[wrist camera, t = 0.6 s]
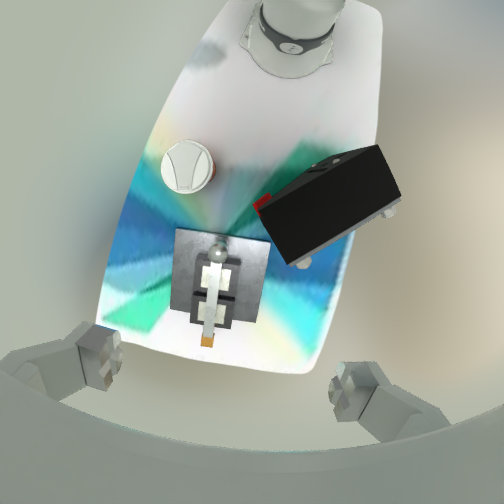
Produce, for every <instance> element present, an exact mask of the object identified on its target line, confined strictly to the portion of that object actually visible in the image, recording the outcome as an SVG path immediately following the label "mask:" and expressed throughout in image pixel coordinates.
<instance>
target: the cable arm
mask: <svg viewBox="0 0 504 504" xmlns="http://www.w3.org/2000/svg"><path fill="white" fill-rule="evenodd" d="M227 255H228V247H227V245H226V244H225V243H223V242H220V241H218V242H214V243H213V244H212V245H211V246H210V248H209V250H208V258H209V260H210V261H211V266H210V274H209V283H208V291H207V300H206V309H205V319H204V329H203V334H202V337H201V346H205V347H211V348H212V347H213V342H214V334H215V333H214V325H215V317H216V309H217V301H218V293H219V285H220V278H221V270H222V263H223V262H224V261H225V260H226V259H227Z"/></svg>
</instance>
